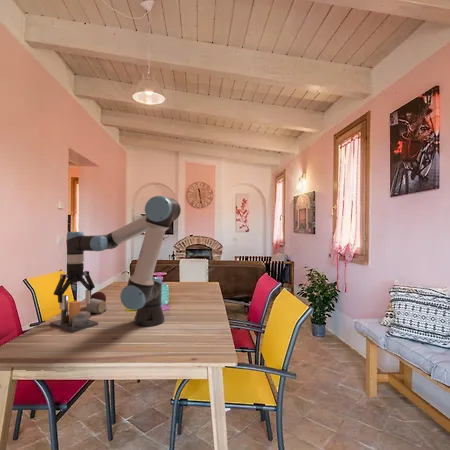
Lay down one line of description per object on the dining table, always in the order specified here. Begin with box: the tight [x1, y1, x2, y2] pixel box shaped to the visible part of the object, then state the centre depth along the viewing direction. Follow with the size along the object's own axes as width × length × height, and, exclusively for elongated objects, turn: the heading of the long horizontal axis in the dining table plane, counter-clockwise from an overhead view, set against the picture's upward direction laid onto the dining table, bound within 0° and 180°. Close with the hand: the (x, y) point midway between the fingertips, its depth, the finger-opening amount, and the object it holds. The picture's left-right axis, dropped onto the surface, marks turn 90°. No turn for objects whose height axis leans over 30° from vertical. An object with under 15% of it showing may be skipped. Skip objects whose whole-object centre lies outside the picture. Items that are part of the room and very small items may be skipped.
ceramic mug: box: [85, 298, 108, 314], centre depth 172 cm, size 11×8×8 cm
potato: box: [90, 291, 107, 303], centre depth 182 cm, size 9×12×9 cm
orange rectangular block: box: [68, 300, 81, 323], centre depth 150 cm, size 3×3×10 cm
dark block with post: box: [49, 294, 99, 333], centre depth 149 cm, size 19×13×13 cm
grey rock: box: [72, 310, 92, 327], centre depth 146 cm, size 6×8×6 cm
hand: (75, 306), depth 149 cm, fingers open, 13 cm apart
